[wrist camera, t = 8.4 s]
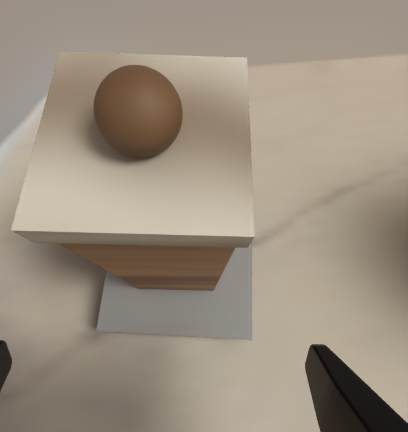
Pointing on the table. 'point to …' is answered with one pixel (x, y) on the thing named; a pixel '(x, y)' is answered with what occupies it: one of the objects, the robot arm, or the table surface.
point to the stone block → (183, 306)
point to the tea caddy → (144, 166)
